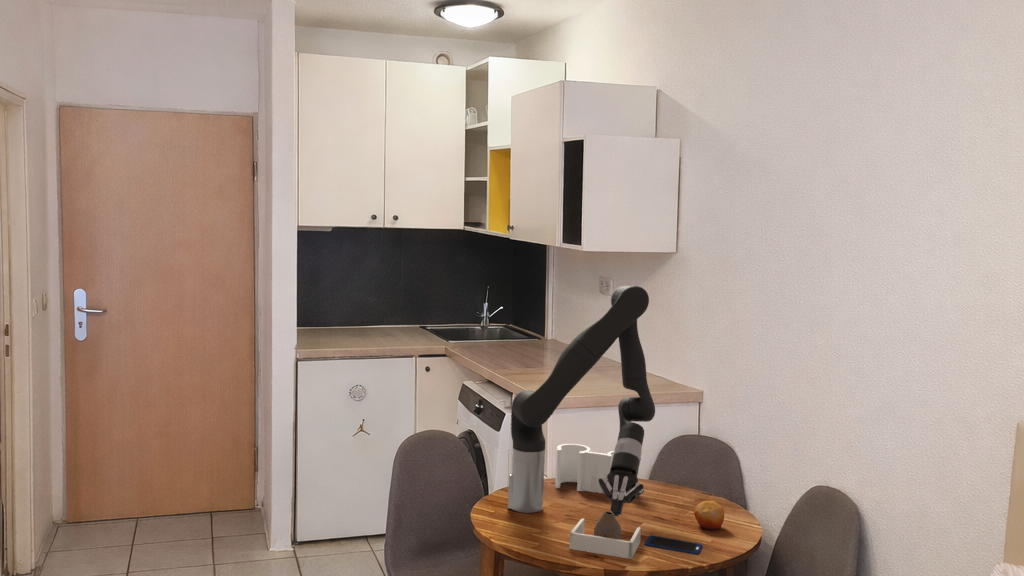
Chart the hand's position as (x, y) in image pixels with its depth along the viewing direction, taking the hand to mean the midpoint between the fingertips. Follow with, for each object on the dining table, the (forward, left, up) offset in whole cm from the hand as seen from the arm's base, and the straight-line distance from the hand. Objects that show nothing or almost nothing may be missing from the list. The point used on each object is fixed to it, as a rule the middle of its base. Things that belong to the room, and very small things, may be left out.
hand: (615, 514), depth 218 cm
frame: (0, -12, -4) cm, 12 cm away
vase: (+1, -12, -5) cm, 13 cm away
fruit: (+23, +14, -5) cm, 27 cm away
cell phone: (+16, -4, -5) cm, 17 cm away
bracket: (-13, +34, -5) cm, 37 cm away
